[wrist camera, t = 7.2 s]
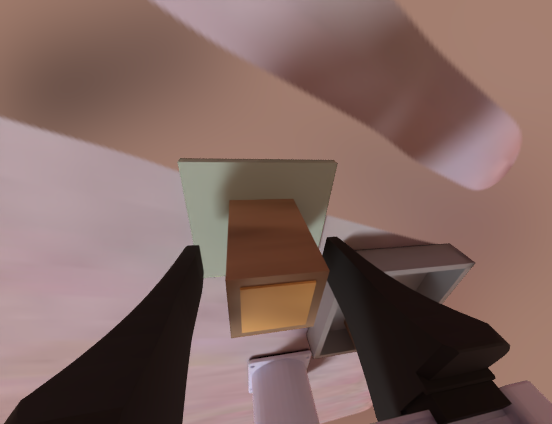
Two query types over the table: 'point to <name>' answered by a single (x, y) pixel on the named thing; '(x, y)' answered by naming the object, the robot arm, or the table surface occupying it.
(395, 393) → the robot arm
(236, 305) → the label block
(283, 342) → the table surface
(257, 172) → the mat
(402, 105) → the table surface
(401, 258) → the bin
